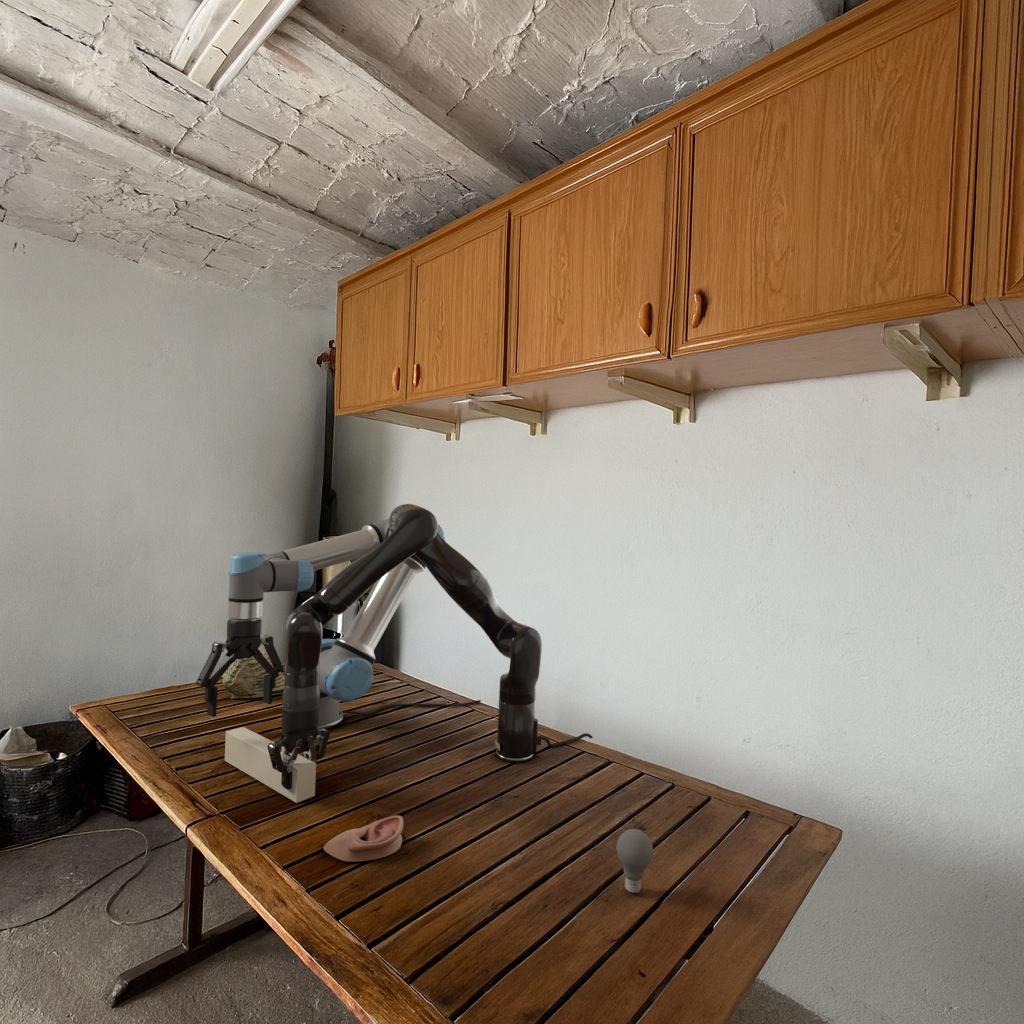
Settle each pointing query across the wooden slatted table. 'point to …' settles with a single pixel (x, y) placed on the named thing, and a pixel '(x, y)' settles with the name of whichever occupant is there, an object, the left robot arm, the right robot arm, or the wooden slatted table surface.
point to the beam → (268, 764)
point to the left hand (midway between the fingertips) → (240, 708)
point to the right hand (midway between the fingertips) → (298, 783)
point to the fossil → (249, 678)
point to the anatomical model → (367, 841)
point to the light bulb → (634, 857)
